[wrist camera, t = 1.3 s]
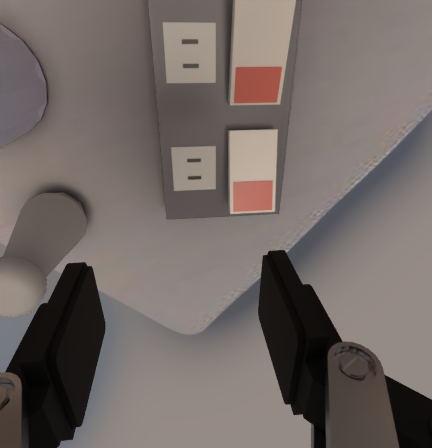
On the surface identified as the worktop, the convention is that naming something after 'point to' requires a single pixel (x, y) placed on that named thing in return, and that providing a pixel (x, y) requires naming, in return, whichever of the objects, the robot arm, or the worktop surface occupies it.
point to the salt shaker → (38, 249)
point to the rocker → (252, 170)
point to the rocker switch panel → (206, 104)
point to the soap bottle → (19, 88)
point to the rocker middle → (259, 50)
